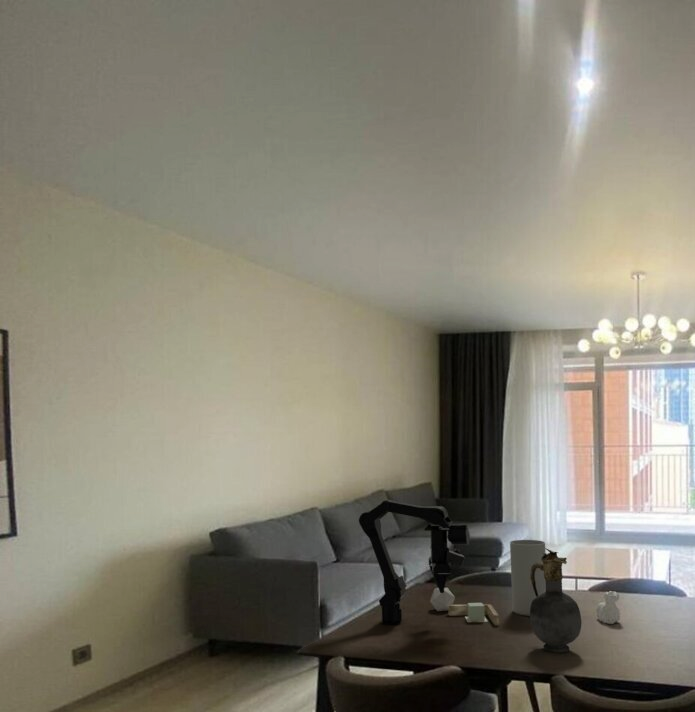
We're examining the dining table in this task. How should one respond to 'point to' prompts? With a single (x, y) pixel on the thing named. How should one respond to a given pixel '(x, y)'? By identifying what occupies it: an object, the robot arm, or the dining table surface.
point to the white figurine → (609, 608)
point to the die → (442, 599)
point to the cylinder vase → (525, 573)
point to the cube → (476, 612)
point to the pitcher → (554, 607)
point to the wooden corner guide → (464, 611)
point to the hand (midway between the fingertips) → (440, 590)
